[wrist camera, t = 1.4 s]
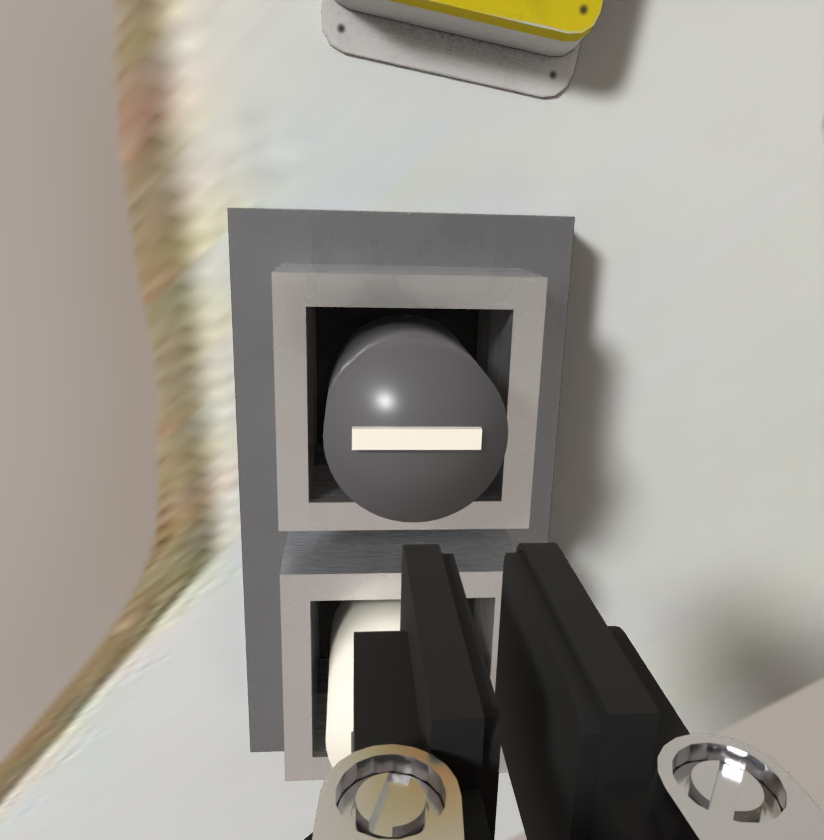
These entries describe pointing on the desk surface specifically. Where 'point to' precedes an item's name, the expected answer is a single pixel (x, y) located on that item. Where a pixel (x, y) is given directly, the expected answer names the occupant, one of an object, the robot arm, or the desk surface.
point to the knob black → (412, 421)
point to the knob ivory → (350, 665)
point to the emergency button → (468, 38)
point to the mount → (305, 459)
